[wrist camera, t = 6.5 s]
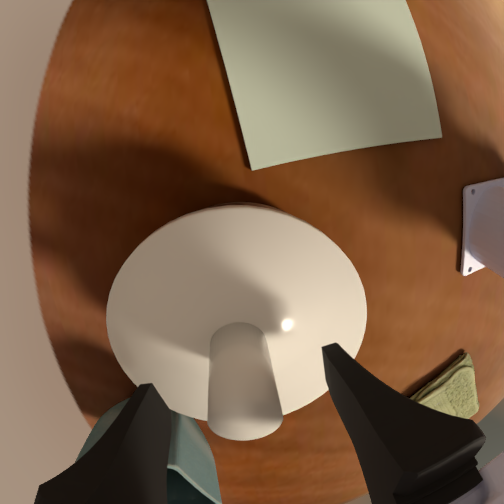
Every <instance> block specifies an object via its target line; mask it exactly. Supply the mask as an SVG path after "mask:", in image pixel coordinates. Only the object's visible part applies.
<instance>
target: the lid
mask: <svg viewBox="0 0 504 504" xmlns="http://www.w3.org/2000/svg"><path fill="white" fill-rule="evenodd" d="M366 319H367V306H366V298H365V293H364V288H363V286H362V283H361V280H360V278H359V275H358V273H357V271H356V270H355V268H354V266H353V265H352V263H351V261H350V260H349V259H348V257H347V256H346V255H345V254H344V253H343V251H342V250H341V249H340V248H339V247H338V246H337V245H336V244H335V243H334V242H333V241H332V240H331V239H329V238H328V237H327V236H326V235H325V234H324V233H322V232H321V231H320V230H319V229H317V228H315V227H314V226H312V225H311V224H309V223H307V222H306V221H304V220H302V219H299V218H297V217H295V216H293V215H290V214H288V213H285V212H281V211H278V210H274V209H270V208H265V207H257V206H250V205H226V206H219V207H212V208H206V209H203V210H199V211H195V212H192V213H188V214H186V215H184V216H181V217H179V218H177V219H175V220H172V221H170V222H168V223H167V224H165V225H164V226H162V227H160V228H159V229H157V230H156V231H154V232H153V233H152V234H151V235H149V236H148V237H147V238H146V239H145V240H144V241H142V242H141V243H140V244H139V245H138V247H137V248H136V249H135V250H134V251H133V252H132V254H131V255H130V256H129V257H128V259H127V260H126V261H125V263H124V264H123V266H122V267H121V269H120V271H119V272H118V274H117V276H116V277H115V280H114V282H113V285H112V288H111V290H110V293H109V298H108V303H107V314H106V323H107V331H108V337H109V340H110V344H111V347H112V350H113V352H114V354H115V357H116V359H117V361H118V362H119V364H120V366H121V367H122V369H123V370H124V372H125V373H126V374H127V376H128V377H129V378H130V379H131V380H132V382H133V383H134V384H135V385H136V386H137V387H138V386H139V385H140V384H147V383H153V385H154V386H155V388H156V390H157V391H158V393H159V394H160V396H161V397H162V399H163V400H164V402H165V403H166V404H167V406H168V407H169V409H171V410H173V411H175V412H178V413H180V414H183V415H186V416H189V417H192V418H196V419H200V420H204V421H207V422H208V426H209V427H210V429H211V430H212V431H213V432H214V433H216V434H217V435H219V436H221V437H224V438H228V439H232V440H252V439H257V438H261V437H264V436H266V435H269V434H270V433H272V432H274V431H275V430H276V429H277V428H278V427H279V426H280V425H281V423H282V421H283V415H285V414H288V413H290V412H292V411H295V410H297V409H299V408H301V407H303V406H305V405H307V404H309V403H311V402H312V401H314V400H315V399H317V398H318V397H320V396H321V395H322V394H324V393H325V392H326V391H327V390H328V386H327V383H326V380H325V372H324V364H323V356H322V348H321V347H322V346H326V345H329V344H332V343H335V342H336V343H338V344H339V345H340V346H341V347H342V348H343V349H344V350H345V351H346V352H347V353H348V354H349V355H350V356H351V357H352V358H353V359H354V358H355V356H356V355H357V352H358V350H359V348H360V345H361V343H362V340H363V336H364V332H365V328H366Z"/></svg>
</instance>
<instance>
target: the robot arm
mask: <svg viewBox="0 0 504 504" xmlns="http://www.w3.org/2000/svg"><path fill="white" fill-rule="evenodd" d="M471 191H472V193H471ZM484 267H487V268H489V269H490V270H492V271H493V272H495V273H497V274H498V275H500V276H501V277H503V278H504V178H499V179H495V180H490V181H486V182H481V183H477V184H472V185H468V186H465V187H464V189H463V244H462V259H461V271H460V272H461V274H462V275H463V276H466V275H469V274H471V273H473V272H475V271H477V270H479V269H481V268H484ZM321 348H322V356H323V364H324V372H325V380H326V383H327V386H328V389H329V392H330V395H331V398H332V400H333V402H334V405H335V407H336V409H337V411H338V413H339V415H340V417H341V419H342V421H343V423H344V425H345V428H346V430H347V432H348V434H349V436H350V438H351V440H352V443H353V445H354V447H355V450H356V453H357V456H358V459H359V462H360V465H361V468H362V471H363V475H364V478H365V481H366V484H367V488H368V491H369V495H370V498H371V502H372V504H504V451H503V452H502V453H501V454H499V455H498V456H497V457H496V458H494V459H493V460H492V461H490V462H489V463H488V464H486V465H485V466H484V467H483V468H481V469H480V470H479V471H478V470H477V468H476V465H477V464H478V462H477V460H476V459H475V455H476V454H477V453H478V451H479V450H480V449H481V447H482V446H483V444H484V443H485V440H486V436H485V435H484V433H483V432H482V430H481V429H480V428H479V427H478V426H477V424H476V423H475V422H474V421H473V420H470V419H465V418H461V417H457V416H453V415H449V414H446V413H443V412H440V411H437V410H435V409H432V408H430V407H427V406H425V405H423V404H420V403H418V402H416V401H414V400H412V399H410V398H408V397H406V396H404V395H402V394H401V393H399V392H397V391H395V390H394V389H392V388H391V387H389V386H388V385H386V384H385V383H383V382H382V381H380V380H379V379H378V378H376V377H375V376H374V375H372V374H371V373H370V372H369V371H367V370H366V369H365V368H364V367H362V366H361V365H360V364H359V363H358V362H357V361H356V360H354V359H353V358H352V357H351V356H350V355H349V354H348V353H347V352H346V351H345V350H344V349H343V348H342V347H341V346H340V345H339V344H338V343H336V342H335V343H332V344H329V345H326V346H322V347H321ZM171 432H172V420H171V410H170V409H169V407H168V406H167V404H166V403H165V402H164V400H163V399H162V397H161V396H160V394H159V393H158V391H157V390H156V388H155V386H154V385H153V383H147V384H140V385H139V386H138V388H137V389H136V390H135V392H134V393H133V395H132V396H131V398H130V399H129V400H128V402H127V403H126V405H125V406H124V408H123V409H122V410H121V412H120V413H119V415H118V416H117V417H116V419H115V420H114V422H113V423H112V424H111V425H110V427H109V428H108V429H107V430H106V432H105V433H104V434H103V436H102V437H101V438H100V439H99V440H98V441H97V442H96V443H95V444H94V446H93V447H92V448H91V449H90V450H89V451H88V452H87V453H86V454H84V455H83V456H82V457H81V458H80V459H79V460H78V461H76V462H75V463H74V464H73V465H72V466H70V467H69V468H68V469H66V470H65V471H63V472H62V473H60V474H59V475H57V476H56V477H54V478H52V479H51V480H49V481H47V482H45V483H43V484H41V485H39V488H38V492H37V495H36V499H35V502H34V504H168V503H167V482H166V479H167V466H168V458H169V449H170V441H171Z"/></svg>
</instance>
